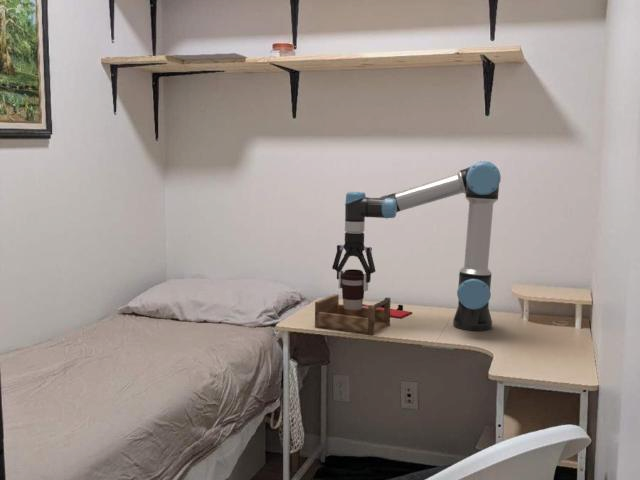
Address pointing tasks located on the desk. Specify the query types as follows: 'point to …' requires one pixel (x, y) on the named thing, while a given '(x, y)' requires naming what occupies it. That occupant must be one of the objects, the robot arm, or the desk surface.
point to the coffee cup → (352, 289)
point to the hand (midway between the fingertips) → (353, 289)
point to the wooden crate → (351, 316)
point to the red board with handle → (395, 311)
